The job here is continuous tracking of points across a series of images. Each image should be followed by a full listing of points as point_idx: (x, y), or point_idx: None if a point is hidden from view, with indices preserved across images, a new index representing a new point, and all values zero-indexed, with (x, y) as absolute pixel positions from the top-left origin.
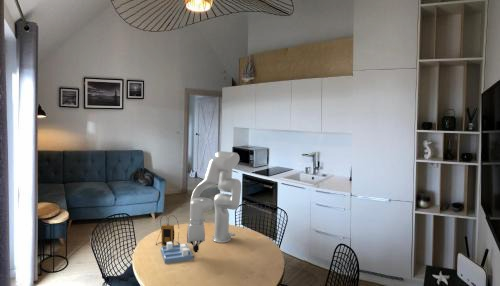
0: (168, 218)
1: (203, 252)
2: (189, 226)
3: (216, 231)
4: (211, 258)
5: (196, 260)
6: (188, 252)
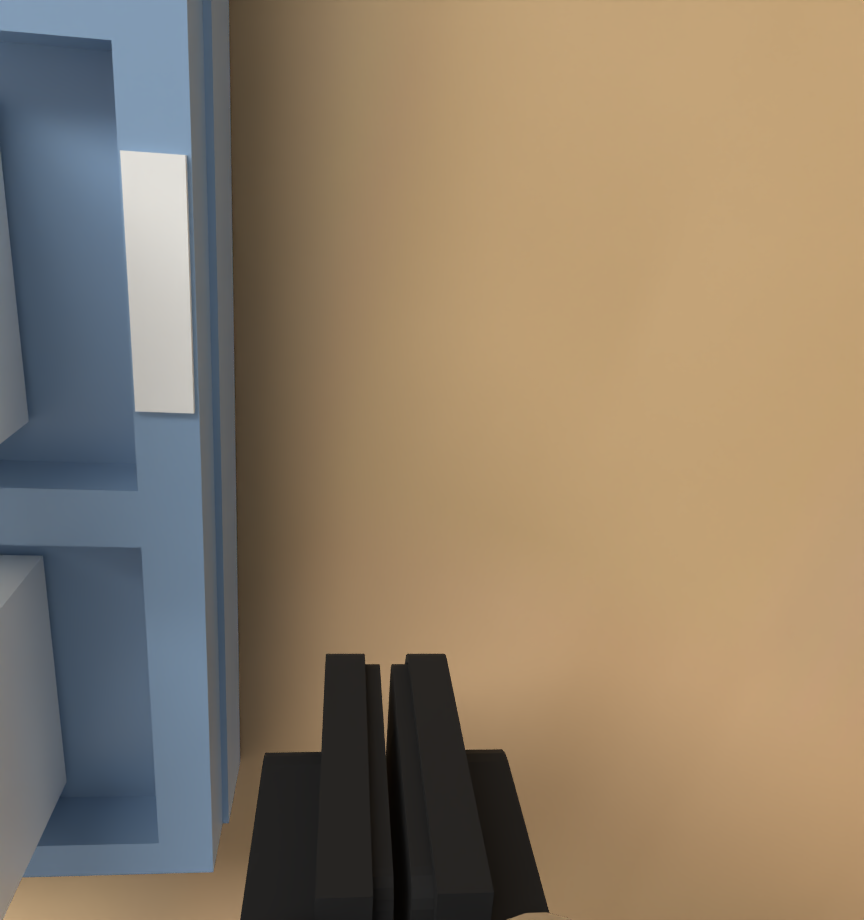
0: None
1: (740, 385)
2: None
3: None
4: (755, 835)
5: None
6: (110, 532)
